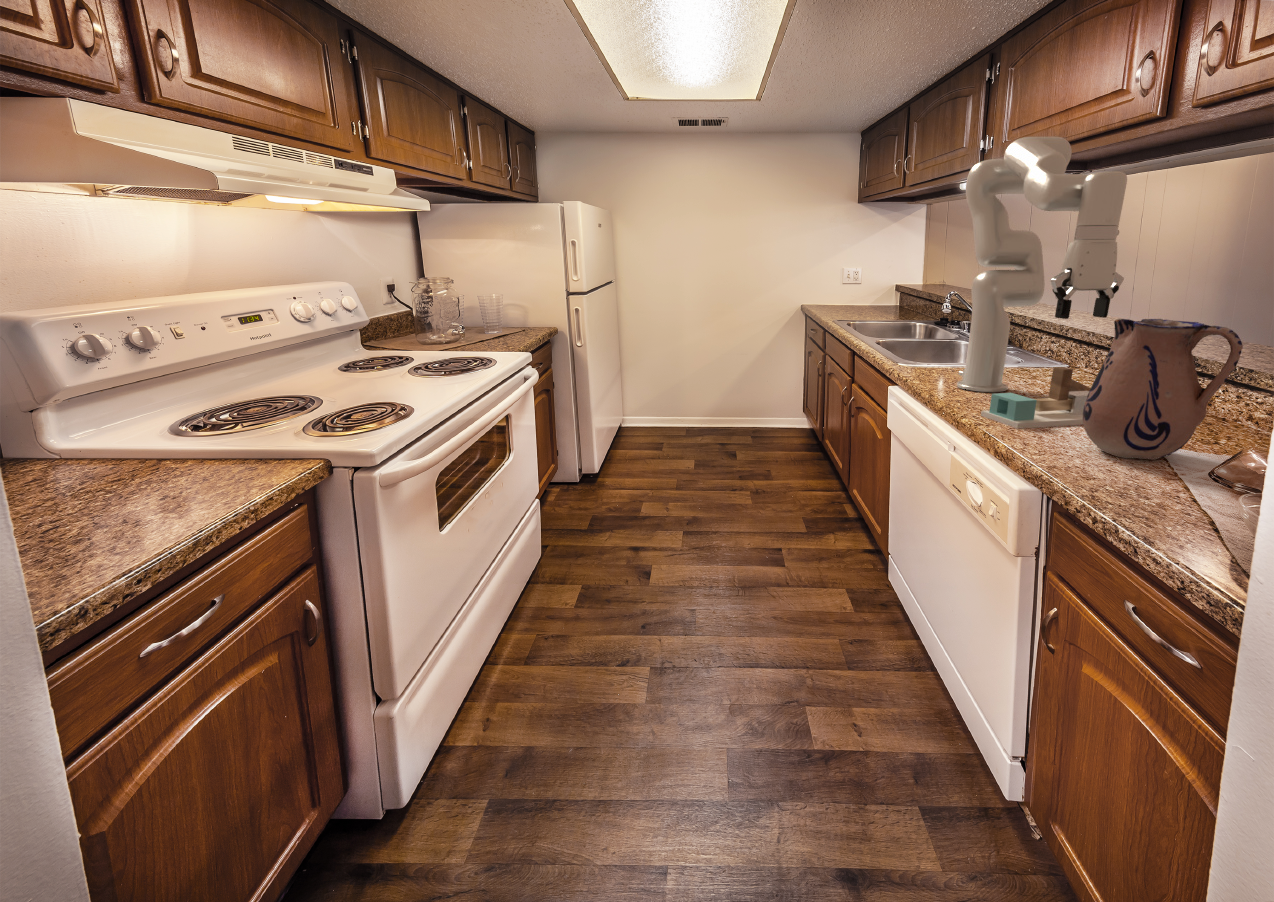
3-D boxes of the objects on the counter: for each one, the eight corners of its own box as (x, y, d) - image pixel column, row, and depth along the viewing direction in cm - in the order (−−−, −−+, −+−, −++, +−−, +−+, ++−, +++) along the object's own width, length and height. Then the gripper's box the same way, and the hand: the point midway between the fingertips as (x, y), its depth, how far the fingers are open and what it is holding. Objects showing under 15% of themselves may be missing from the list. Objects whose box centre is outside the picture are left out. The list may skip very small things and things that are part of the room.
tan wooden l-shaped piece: (1094, 405, 161) (1101, 365, 158) (1104, 408, 158) (1112, 367, 155) (1030, 408, 158) (1036, 368, 155) (1039, 411, 155) (1046, 370, 152)
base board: (1077, 410, 166) (1078, 405, 165) (1119, 422, 154) (1120, 417, 154) (980, 415, 161) (981, 410, 161) (1017, 428, 150) (1018, 423, 149)
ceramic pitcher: (1083, 436, 143) (1106, 314, 136) (1213, 454, 131) (1246, 321, 123) (1069, 455, 130) (1093, 322, 123) (1212, 478, 118) (1249, 330, 110)
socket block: (1008, 411, 160) (1011, 392, 158) (1033, 419, 152) (1036, 400, 151) (989, 412, 159) (991, 393, 157) (1013, 420, 151) (1016, 401, 150)
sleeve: (1083, 409, 161) (1087, 390, 160) (1099, 413, 157) (1102, 394, 156) (1057, 410, 160) (1060, 392, 159) (1072, 415, 156) (1075, 396, 155)
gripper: (1114, 235, 150) (1099, 315, 155) (1046, 235, 147) (1033, 317, 152) (1145, 235, 143) (1129, 318, 148) (1074, 235, 140) (1060, 320, 145)
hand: (1080, 317), depth 150 cm, fingers open, 9 cm apart
